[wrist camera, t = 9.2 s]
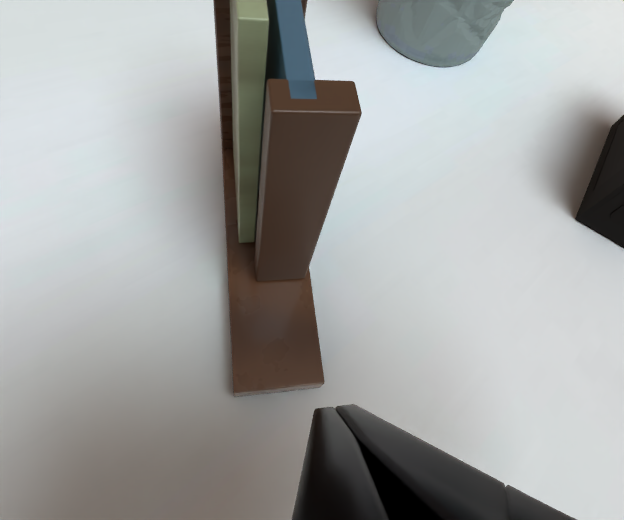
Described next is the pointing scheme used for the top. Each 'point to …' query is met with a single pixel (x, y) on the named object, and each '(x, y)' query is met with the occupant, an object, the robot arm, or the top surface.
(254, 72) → the brown wooden panel stand
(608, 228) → the digital camera
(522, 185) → the top surface
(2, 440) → the top surface
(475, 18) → the embossed grey plant pot
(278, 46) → the sliding door
